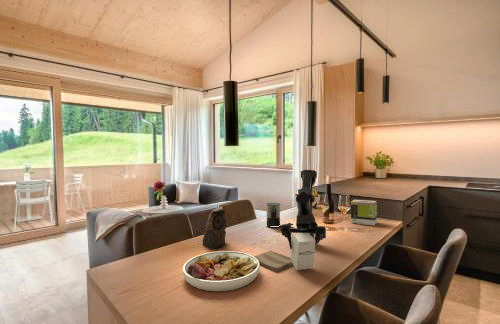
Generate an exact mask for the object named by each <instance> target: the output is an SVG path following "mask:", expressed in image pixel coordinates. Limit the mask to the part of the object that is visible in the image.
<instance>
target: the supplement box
mask: <svg viewBox="0 0 500 324" xmlns="http://www.w3.org/2000/svg"><path fill="white" fill-rule="evenodd" d="M291 237H292V249H290V250H291V253H290V258H291V262H292V263H293V265H292V266H294V268H295V271H298V270H307V269H314V263H315V261H314V260H315V251H316V249H315V237H314V238H313V237H312V236H311V235H310V234H309V233H291Z"/></svg>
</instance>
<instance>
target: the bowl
mask: <svg viewBox="0 0 500 324" xmlns="http://www.w3.org/2000/svg"><path fill="white" fill-rule="evenodd" d="M254 256H255V255H251V254H249V253H246V252H242V251H234V250H233V251H232V250H218V251H211V252H210V251H209V252H206V253H203V254H198V255H196V256H193V257H191V258H190V259H188V260H187V261H186V262H185V263H184V264H183V267H182V274H183V278H184V279H185V281H186V282H187V283H188V284H189V285H191V286H192V287H195V288H196V289H199V290H202V291H207V292H229V291H233V290H234V291H235V290H237V289H240V288H242V287H246V286H247V285H249V284H250V283H252V282H253V281H254V280H255V279H256V278H257V276H258V275H259V272H260V267H261V265H260V264H259V261H258V260H257V259H256V258H255V257H254Z"/></svg>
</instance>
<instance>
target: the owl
mask: <svg viewBox="0 0 500 324" xmlns="http://www.w3.org/2000/svg"><path fill="white" fill-rule="evenodd" d="M225 214H226V211H225V209H224V206H223V205H221V206H218V207H216V208H214V209H213V210H212V211H211V213H210V214H209V215H208V219H207V221H206V224H205V228H204V232H203V238H202V240H201V241H202V245H203V246H204V247H206V248H209V249H211V250H215V251H216V250H220V249H222V248H223V247H224V246H225V245H226V235H227V232H226V215H225Z"/></svg>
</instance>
